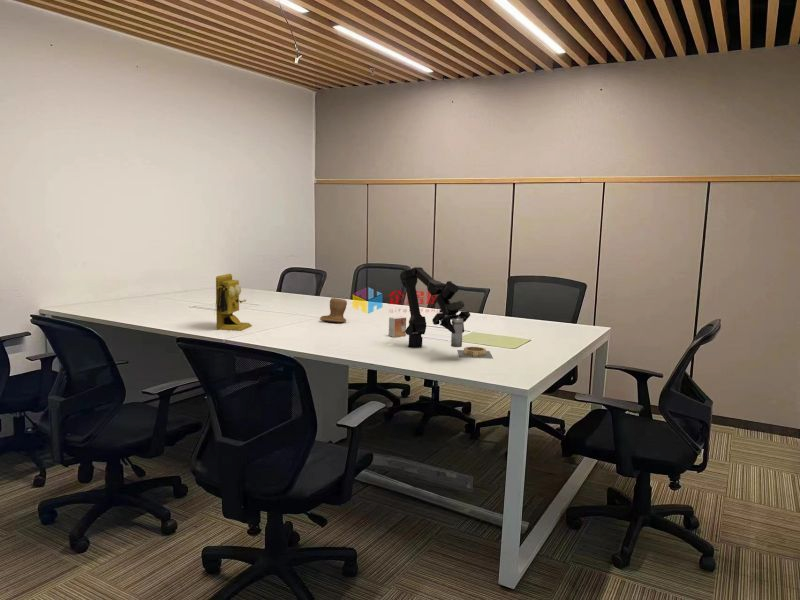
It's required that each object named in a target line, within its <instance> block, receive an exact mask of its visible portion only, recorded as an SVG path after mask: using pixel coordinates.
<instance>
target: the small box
mask: <svg viewBox="0 0 800 600" xmlns="http://www.w3.org/2000/svg"><path fill="white" fill-rule="evenodd" d="M406 329H407V317H404V316H393V317H392V316H389V317H388V337H391V336H392V338H398V337H399V336H402V337H406V335H407V334H406V331H405V330H406ZM399 338H400V337H399Z"/></svg>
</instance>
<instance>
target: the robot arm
mask: <svg viewBox="0 0 800 600" xmlns="http://www.w3.org/2000/svg"><path fill="white" fill-rule="evenodd" d="M399 279H400V281H401V285H403V287H404V288H405V291H406V296H407V302H408V307H409V313H410V317H409V319H408V326H406V330H405V331H406V335H408V347H409V348H422V346H423V336H422V335H425V334H426V329H427V321H426V316H423V315H422V314H421V310H420V304H419V298H418V293H417V292H418V291H417V289H416V287H417V284H418V280H419V281H420V282H421V283H423V285H425V286H426V287H427V288H426V290H427V291H428V293H429V294H430V295H431V296H436V297H435V298H434V300H433V303H434V304H437V305H438V307H439V309H440V310H439V312H437V313H436V314H435V315H434V316H433V318H432V324H433V325H435V326H437V325H439V326H442V327H443V328H445V329H447V330H448V331H449V332H450V333H451V334H452V333H453V334H454V333H455V331H454V328H453V326H452V318H455V317H458V318H463V332H462V334H464V333H465V328H464V327H465V326H464V323H465V322H466V321H467V320H468V319H469V318H470V317H471V313H470V311H468V310H464V311H463V308H465V304H464V303H465V302H464V301H463V300H459V301H456V302H451V300H452V299H453V298H454V297H455V295H456V294H457V293H458V292H459V287H458V285H457V284H455V283H453V282H452V280H448V281H446V283H443V282H442V281H440V280H436V279H434V278H433V277H432V276H431V275H430V274H428V273H427V272H426V271H425V270H424V267H420V266H419V267H413V268H411V269H407V270H402V271H401V273H400V276H399ZM459 310H462V311H460V312H459ZM458 313H459V314H458Z"/></svg>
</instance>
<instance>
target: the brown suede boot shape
mask: <svg viewBox="0 0 800 600" xmlns="http://www.w3.org/2000/svg"><path fill="white" fill-rule="evenodd" d="M347 304H348V302H347V300H346V299H343V298H336V297H331V298H330V300H329V312H330V313H329V315H328V314H327V315H322V316H320V318H319V320H320V321H323V322H327V323H345V322H346V321H347V318H345V317H344V314H345V312H346V309H347Z"/></svg>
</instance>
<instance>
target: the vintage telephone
mask: <svg viewBox="0 0 800 600" xmlns="http://www.w3.org/2000/svg"><path fill="white" fill-rule="evenodd" d="M241 293H242V287H241V286H240V280H239V279H233V275H232V274H231V273H227V274H221V275H217V276H216V277H215V312H216V331H228V332H229V331H235V332H236V331H238V332H239V331H240V332H242V331H244V330H246V329H249V328H250V327H252V326H253V325H252V324H251V323H250V322H241V321H240V319H239V318H238V317H237V316H236V315H234V314H233V313H236V312H239V311H240V304H242V303H246V302H247V299H243V300H240V295H241ZM214 316H215V313H214Z"/></svg>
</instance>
